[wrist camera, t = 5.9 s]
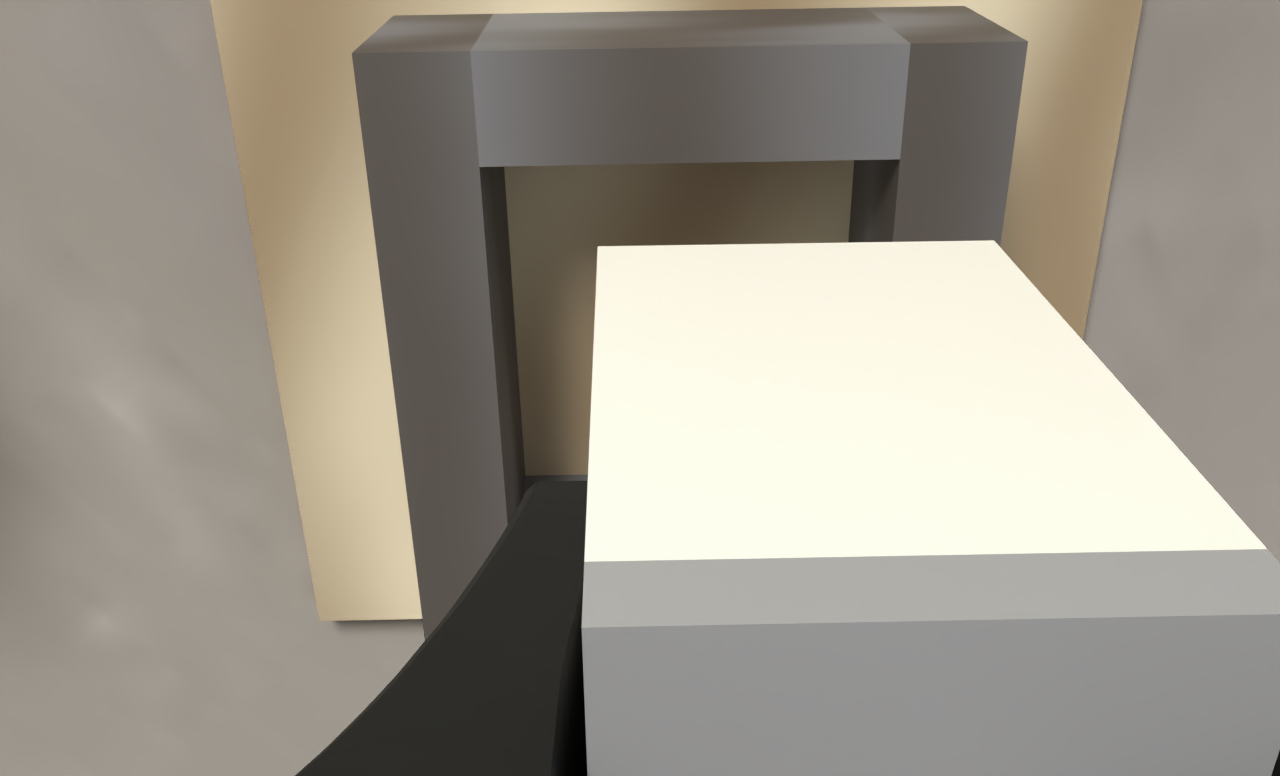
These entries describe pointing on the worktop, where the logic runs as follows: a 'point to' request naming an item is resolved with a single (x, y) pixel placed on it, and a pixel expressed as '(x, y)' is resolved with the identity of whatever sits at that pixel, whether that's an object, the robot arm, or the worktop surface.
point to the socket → (603, 211)
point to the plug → (898, 533)
